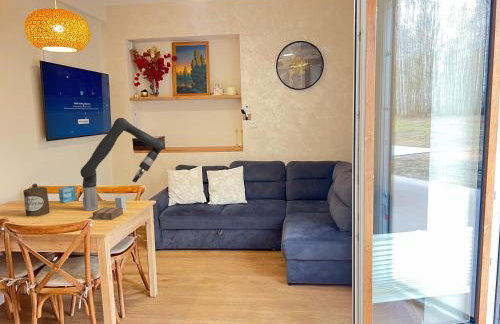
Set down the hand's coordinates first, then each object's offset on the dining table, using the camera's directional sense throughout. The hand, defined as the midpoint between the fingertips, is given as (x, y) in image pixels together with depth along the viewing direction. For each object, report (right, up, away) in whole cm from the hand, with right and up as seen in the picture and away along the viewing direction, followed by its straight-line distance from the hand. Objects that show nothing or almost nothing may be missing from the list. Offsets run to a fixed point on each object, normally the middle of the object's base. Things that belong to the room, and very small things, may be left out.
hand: (133, 181), depth 273 cm
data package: (-63, -18, +29) cm, 71 cm away
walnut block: (-12, -23, -18) cm, 32 cm away
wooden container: (-67, -23, -7) cm, 71 cm away
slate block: (-9, -21, -2) cm, 23 cm away
